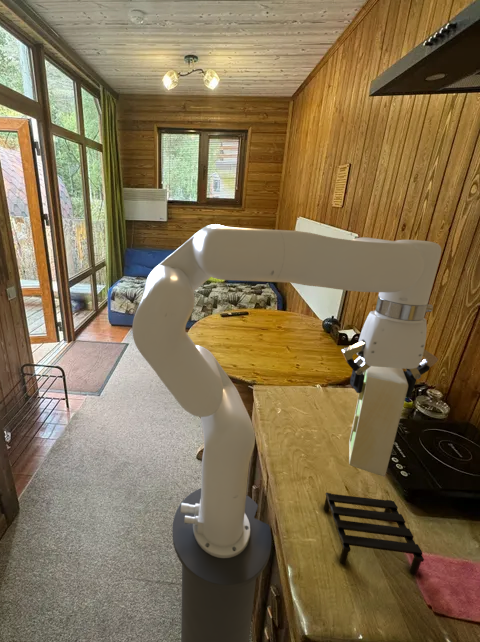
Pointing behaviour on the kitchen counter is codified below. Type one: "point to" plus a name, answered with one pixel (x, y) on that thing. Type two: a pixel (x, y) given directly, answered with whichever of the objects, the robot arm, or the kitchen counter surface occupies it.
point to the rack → (372, 527)
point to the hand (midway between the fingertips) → (379, 390)
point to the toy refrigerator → (377, 418)
